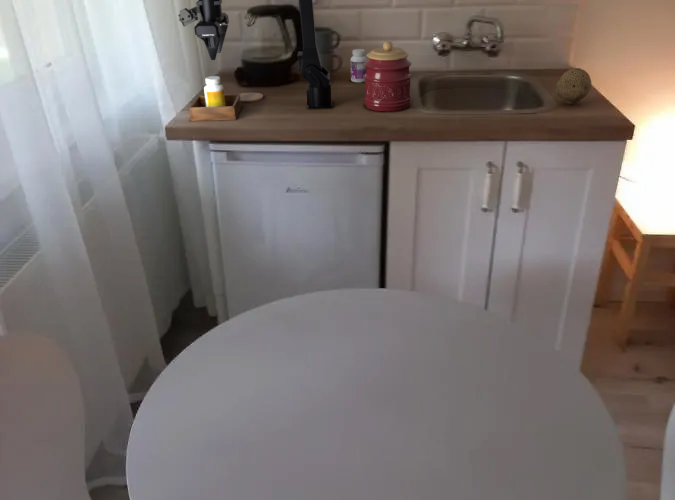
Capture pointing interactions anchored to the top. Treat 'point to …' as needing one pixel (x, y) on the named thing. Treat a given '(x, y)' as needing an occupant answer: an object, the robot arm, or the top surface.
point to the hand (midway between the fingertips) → (216, 56)
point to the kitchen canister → (387, 79)
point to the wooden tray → (215, 109)
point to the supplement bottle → (214, 92)
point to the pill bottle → (358, 65)
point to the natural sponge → (573, 85)
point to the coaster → (250, 97)
